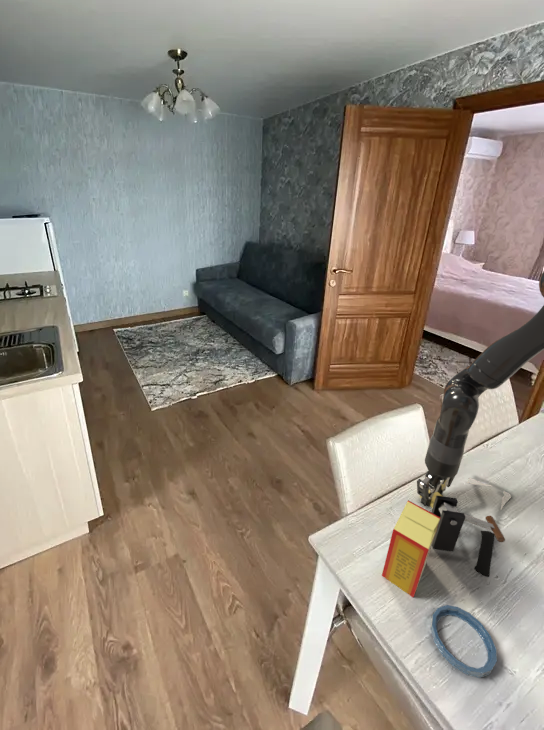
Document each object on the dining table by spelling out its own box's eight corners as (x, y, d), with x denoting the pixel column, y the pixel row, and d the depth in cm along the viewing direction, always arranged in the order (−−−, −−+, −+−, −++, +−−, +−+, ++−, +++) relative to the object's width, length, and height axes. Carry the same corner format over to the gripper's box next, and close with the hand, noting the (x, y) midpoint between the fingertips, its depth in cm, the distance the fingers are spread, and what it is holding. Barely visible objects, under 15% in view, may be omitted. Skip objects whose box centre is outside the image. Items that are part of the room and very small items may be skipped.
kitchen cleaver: (469, 475, 102) (511, 490, 95) (468, 480, 102) (510, 495, 96) (443, 554, 80) (496, 581, 73) (443, 559, 80) (495, 586, 74)
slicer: (453, 532, 86) (466, 494, 81) (467, 564, 79) (482, 525, 74) (411, 525, 88) (421, 488, 83) (420, 556, 80) (432, 517, 75)
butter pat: (428, 494, 96) (430, 486, 95) (441, 505, 93) (444, 496, 92) (418, 500, 95) (421, 491, 93) (431, 511, 91) (434, 502, 90)
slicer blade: (489, 522, 81) (495, 515, 80) (501, 544, 76) (508, 537, 75) (435, 502, 82) (441, 495, 81) (444, 523, 77) (450, 516, 76)
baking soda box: (412, 601, 72) (428, 549, 65) (380, 579, 76) (393, 528, 69) (425, 566, 78) (441, 516, 72) (395, 548, 82) (408, 498, 76)
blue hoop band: (476, 619, 69) (480, 610, 68) (503, 687, 59) (508, 678, 58) (422, 609, 70) (425, 600, 69) (440, 674, 61) (443, 665, 60)
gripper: (440, 472, 81) (425, 524, 88) (476, 453, 87) (459, 502, 94) (412, 452, 87) (400, 501, 94) (448, 435, 93) (434, 483, 100)
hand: (430, 502), depth 94 cm, fingers closed on butter pat, 4 cm apart
